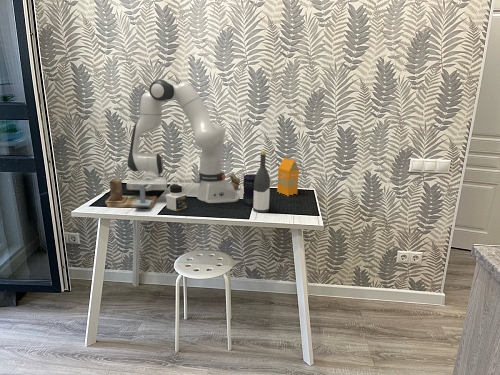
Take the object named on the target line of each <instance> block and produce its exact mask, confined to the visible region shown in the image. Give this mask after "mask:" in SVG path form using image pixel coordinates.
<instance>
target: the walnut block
mask: <svg viewBox="0 0 500 375" xmlns="http://www.w3.org/2000/svg"><path fill="white" fill-rule="evenodd" d="M109 192H110V196H111V201H122V200H123V199H122V196H123V186H122V179H121V178H111V180H109Z"/></svg>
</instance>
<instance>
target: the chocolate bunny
mask: <svg viewBox="0 0 500 375" xmlns="http://www.w3.org/2000/svg"><path fill="white" fill-rule="evenodd" d="M229 178H230V181H231V182H229V183H231V184H232V185H233V186H234V189H235V191H238V190H239V186H240V184H241V179H240V177H238V176H237V175H236V174H235V173H234V172H232V173H231V174H230V175H229Z"/></svg>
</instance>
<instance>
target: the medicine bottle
mask: <svg viewBox="0 0 500 375" xmlns="http://www.w3.org/2000/svg"><path fill="white" fill-rule="evenodd" d="M165 197H166V198H165V200H166V209H168V210H170V211H173V212H174V211H175V212H179V211H181V210H185V209H186V208H188V206H187V194H186V193H184V192H183V185H182V184H179V183H174V184H171V185H169V193H167V194H166V195H165Z"/></svg>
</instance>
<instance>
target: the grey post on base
mask: <svg viewBox="0 0 500 375" xmlns="http://www.w3.org/2000/svg"><path fill="white" fill-rule="evenodd" d="M139 196H140V200H136V202H135V203H134V206H150V204H151V202H152V200H145V196H146V191H145V184H140V190H139Z"/></svg>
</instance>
